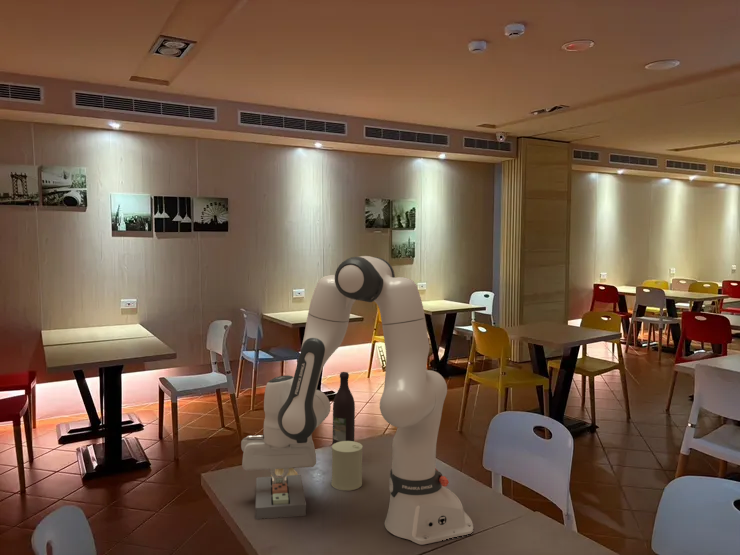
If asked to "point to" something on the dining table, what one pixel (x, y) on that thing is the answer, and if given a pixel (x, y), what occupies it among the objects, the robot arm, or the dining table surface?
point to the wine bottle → (343, 412)
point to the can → (347, 465)
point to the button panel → (291, 509)
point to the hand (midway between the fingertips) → (279, 482)
